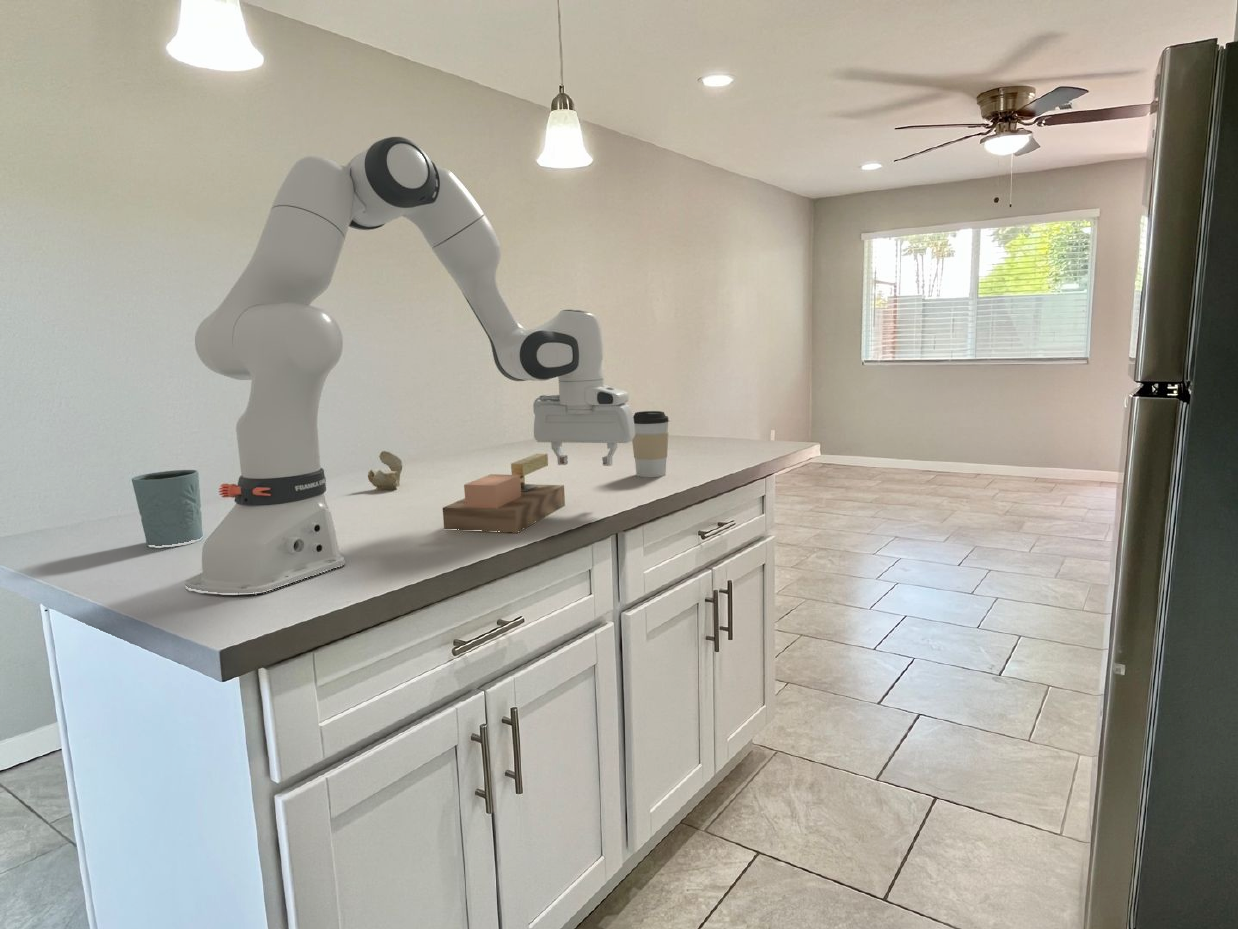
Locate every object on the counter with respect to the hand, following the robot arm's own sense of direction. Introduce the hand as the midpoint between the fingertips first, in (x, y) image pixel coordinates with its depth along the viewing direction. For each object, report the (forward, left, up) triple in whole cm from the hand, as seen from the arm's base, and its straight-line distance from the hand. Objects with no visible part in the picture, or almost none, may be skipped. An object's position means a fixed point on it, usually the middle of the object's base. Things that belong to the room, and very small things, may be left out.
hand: (585, 465), depth 154 cm
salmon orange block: (-19, +10, -4) cm, 22 cm away
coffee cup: (+31, -5, -8) cm, 32 cm away
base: (-14, +10, -8) cm, 19 cm away
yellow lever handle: (-3, +10, -3) cm, 11 cm away
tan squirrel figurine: (+7, +50, -8) cm, 52 cm away
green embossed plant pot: (-41, +61, -8) cm, 74 cm away
